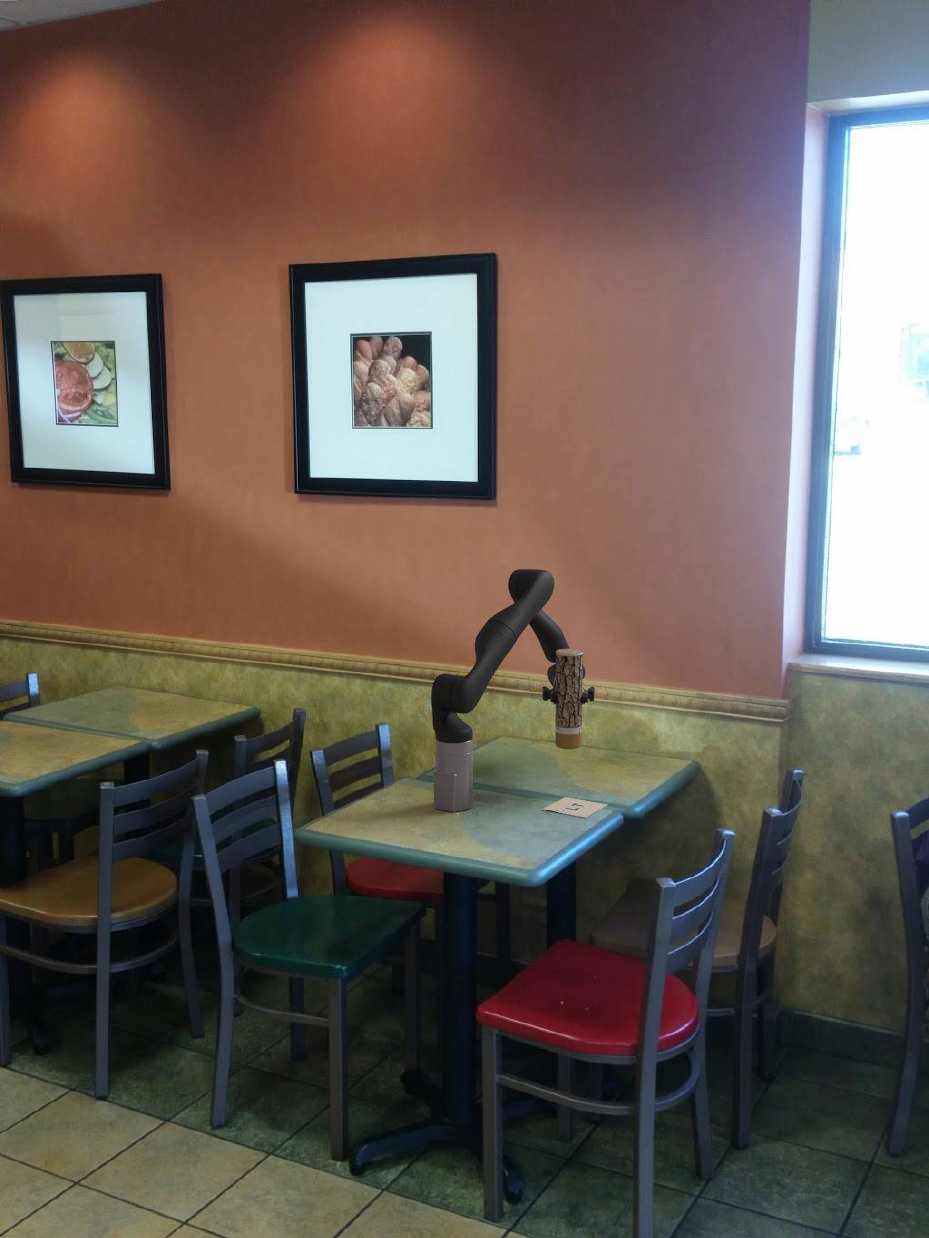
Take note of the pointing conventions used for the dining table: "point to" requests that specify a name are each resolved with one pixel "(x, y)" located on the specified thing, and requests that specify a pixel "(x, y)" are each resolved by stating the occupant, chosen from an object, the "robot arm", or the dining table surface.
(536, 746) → the dining table surface
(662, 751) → the dining table surface
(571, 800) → the card
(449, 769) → the robot arm
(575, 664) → the brown bark cylinder
